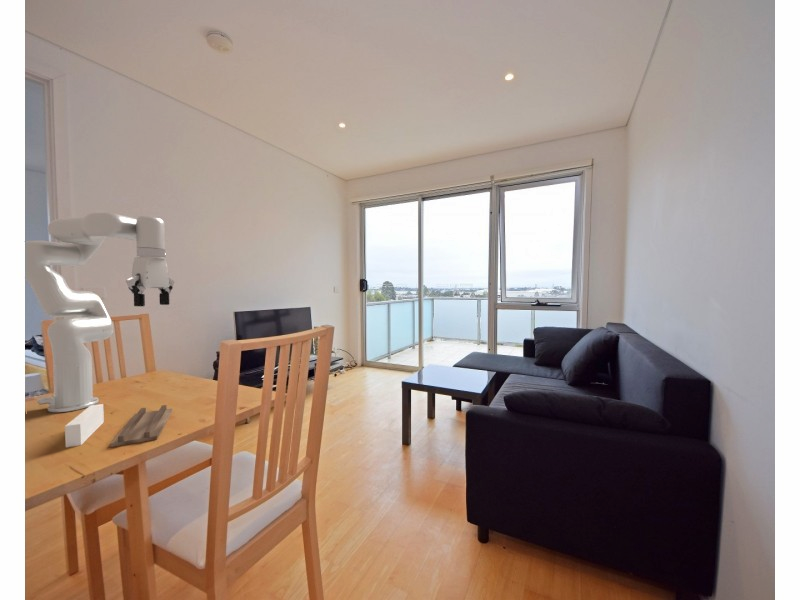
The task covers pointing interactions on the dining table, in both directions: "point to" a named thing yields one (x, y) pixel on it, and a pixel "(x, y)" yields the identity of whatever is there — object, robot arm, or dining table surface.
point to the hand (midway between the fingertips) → (152, 305)
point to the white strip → (84, 425)
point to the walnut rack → (143, 427)
